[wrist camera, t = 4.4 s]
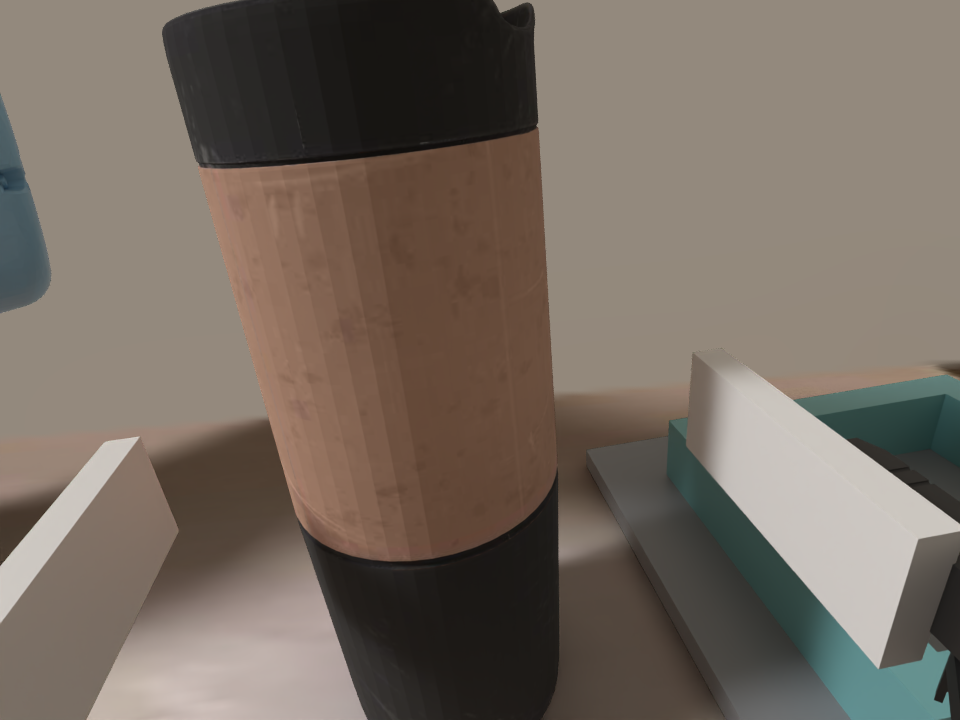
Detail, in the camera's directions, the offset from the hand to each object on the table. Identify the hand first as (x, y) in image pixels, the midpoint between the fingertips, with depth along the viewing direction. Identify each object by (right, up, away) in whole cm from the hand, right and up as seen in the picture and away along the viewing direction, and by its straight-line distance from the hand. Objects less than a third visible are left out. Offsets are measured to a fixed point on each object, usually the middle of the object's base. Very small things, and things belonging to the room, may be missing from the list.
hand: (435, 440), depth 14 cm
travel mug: (0, -9, +7) cm, 11 cm away
